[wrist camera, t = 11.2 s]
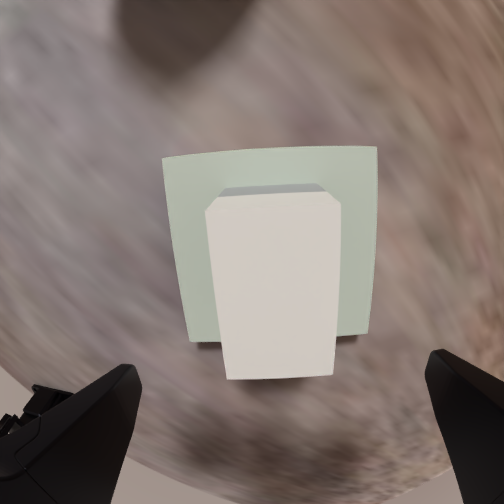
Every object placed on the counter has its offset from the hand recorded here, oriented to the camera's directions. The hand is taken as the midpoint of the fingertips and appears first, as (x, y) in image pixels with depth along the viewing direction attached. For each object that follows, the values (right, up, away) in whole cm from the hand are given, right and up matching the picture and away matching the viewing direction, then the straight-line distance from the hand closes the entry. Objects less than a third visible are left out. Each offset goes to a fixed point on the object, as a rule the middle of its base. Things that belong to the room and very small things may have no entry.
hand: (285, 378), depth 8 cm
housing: (0, +3, +10) cm, 11 cm away
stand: (+1, +4, +12) cm, 13 cm away
